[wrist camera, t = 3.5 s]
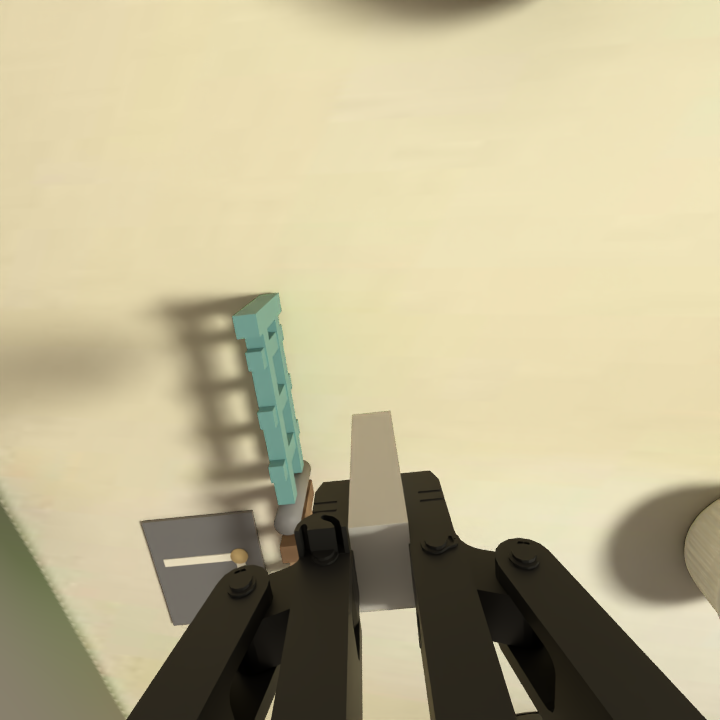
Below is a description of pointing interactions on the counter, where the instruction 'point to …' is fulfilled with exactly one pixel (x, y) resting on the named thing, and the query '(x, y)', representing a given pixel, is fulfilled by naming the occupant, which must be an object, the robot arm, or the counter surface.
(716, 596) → the ramekin
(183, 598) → the card
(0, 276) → the counter surface
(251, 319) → the fence
